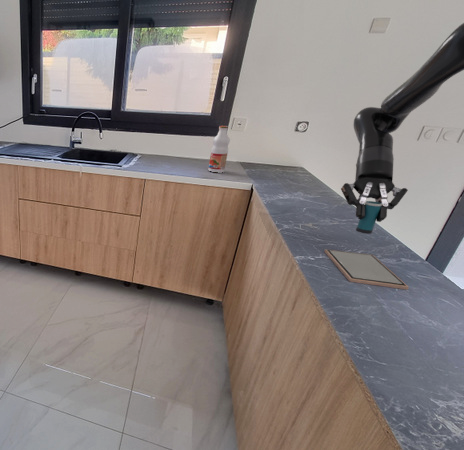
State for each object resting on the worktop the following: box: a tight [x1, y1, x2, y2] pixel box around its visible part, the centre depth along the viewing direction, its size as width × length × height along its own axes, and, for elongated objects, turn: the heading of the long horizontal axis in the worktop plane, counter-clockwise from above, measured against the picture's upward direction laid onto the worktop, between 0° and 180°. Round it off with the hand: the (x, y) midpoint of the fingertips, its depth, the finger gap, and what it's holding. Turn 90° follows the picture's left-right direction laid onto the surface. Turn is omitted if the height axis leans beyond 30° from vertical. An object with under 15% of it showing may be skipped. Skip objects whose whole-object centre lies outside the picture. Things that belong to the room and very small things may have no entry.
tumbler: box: [355, 200, 382, 235], centre depth 86 cm, size 3×3×8 cm
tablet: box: [324, 248, 410, 291], centre depth 88 cm, size 12×18×1 cm, turn 160°
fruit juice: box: [207, 125, 230, 174], centre depth 193 cm, size 9×9×28 cm
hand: (370, 219), depth 84 cm, fingers closed on tumbler, 3 cm apart
